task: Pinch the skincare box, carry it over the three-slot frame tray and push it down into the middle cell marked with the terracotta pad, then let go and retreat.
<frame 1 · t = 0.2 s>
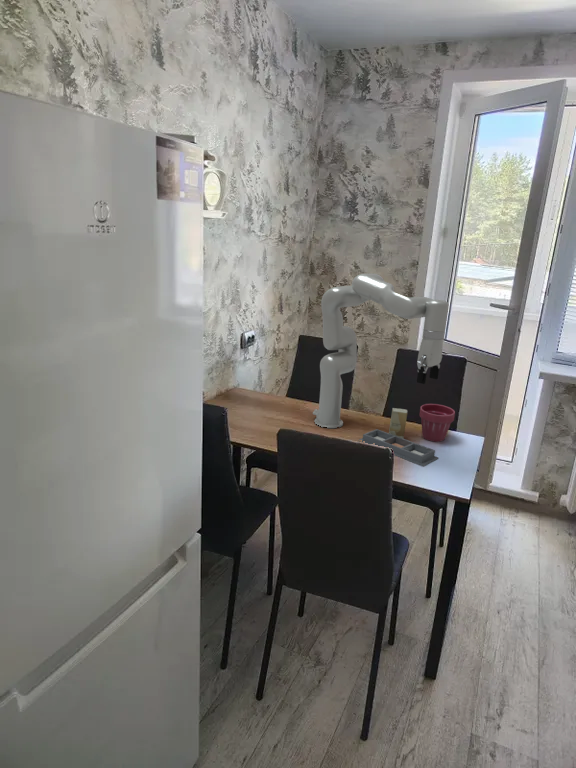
hand: (427, 380, 190), 31 cm above the table, tool pointing down, fingers open, 9 cm apart
skincare box: (396, 437, 217), on the table
plant pot: (433, 438, 220), on the table
three-slot frame tray: (397, 449, 205), on the table
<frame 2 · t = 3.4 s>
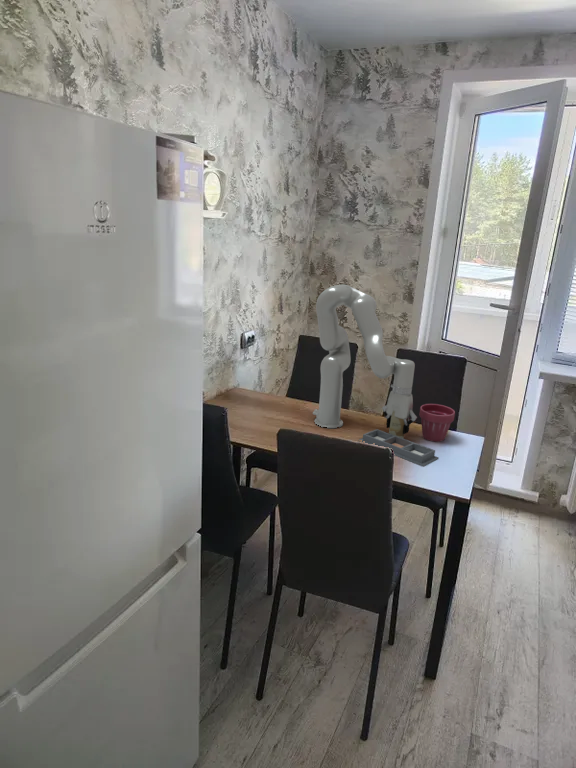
hand: (397, 430, 216), 3 cm above the table, tool pointing down, fingers closed on skincare box, 7 cm apart
skincare box: (396, 437, 217), on the table, touching gripper
everything else where it was.
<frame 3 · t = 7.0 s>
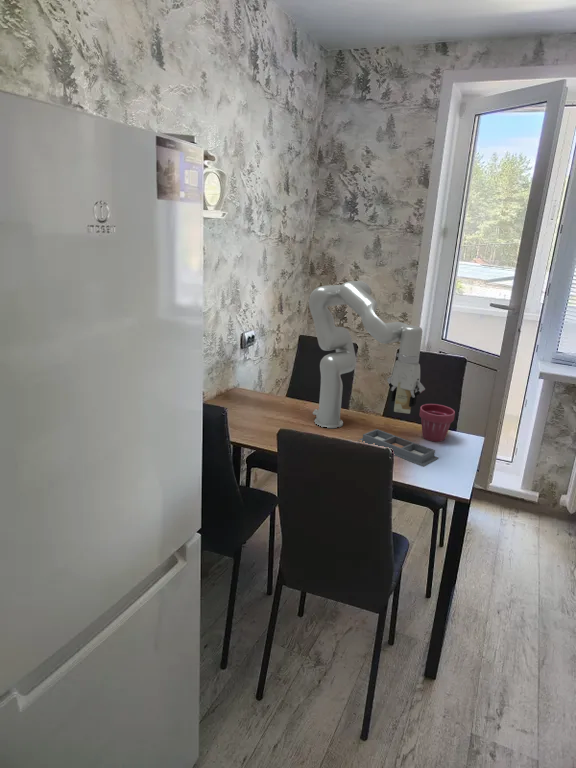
hand: (403, 403, 199), 19 cm above the table, tool pointing down, fingers closed on skincare box, 7 cm apart
skincare box: (402, 411, 200), point 16 cm above the table, touching gripper
everything else where it was.
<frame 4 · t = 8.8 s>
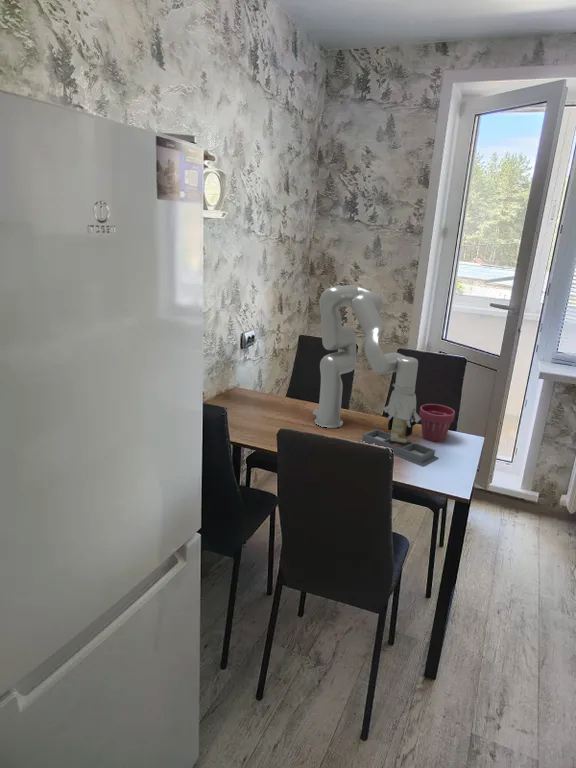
hand: (399, 432, 203), 7 cm above the table, tool pointing down, fingers closed on skincare box, 7 cm apart
skincare box: (398, 440, 204), point 4 cm above the table, touching gripper
everything else where it was.
when the fingers open (5 cm above the table, at t = 10.4 s): skincare box drops 1 cm, resting on three-slot frame tray.
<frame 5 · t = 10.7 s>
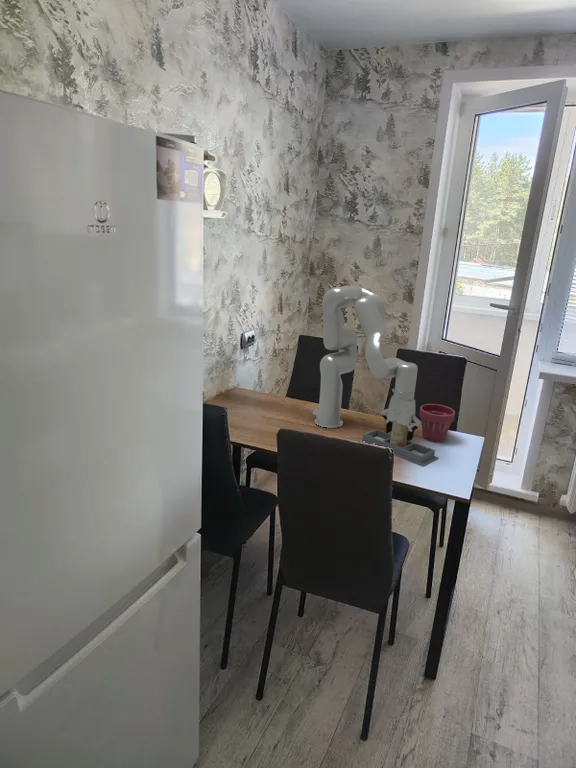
hand: (398, 436, 203), 6 cm above the table, tool pointing down, fingers open, 9 cm apart
skincare box: (397, 448, 205), point 1 cm above the table, touching three-slot frame tray
everything else where it was.
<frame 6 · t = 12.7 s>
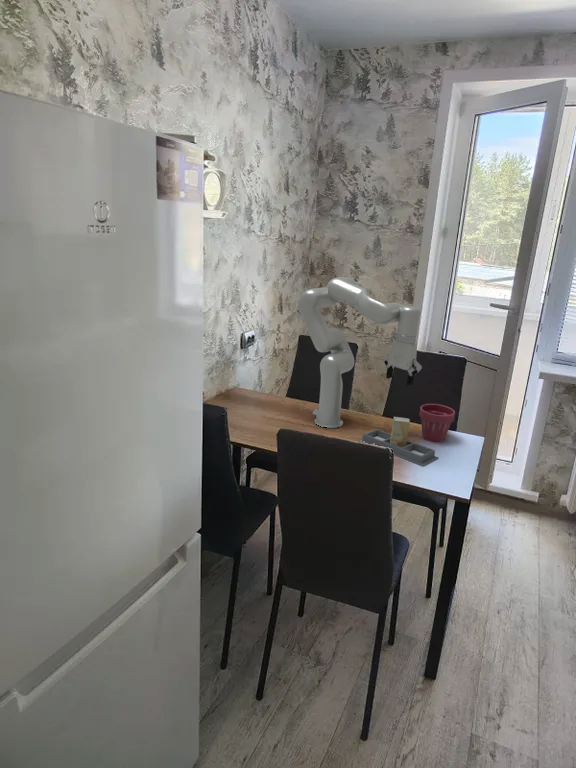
hand: (399, 381, 204), 26 cm above the table, tool pointing down, fingers open, 9 cm apart
nothing on the table moved.
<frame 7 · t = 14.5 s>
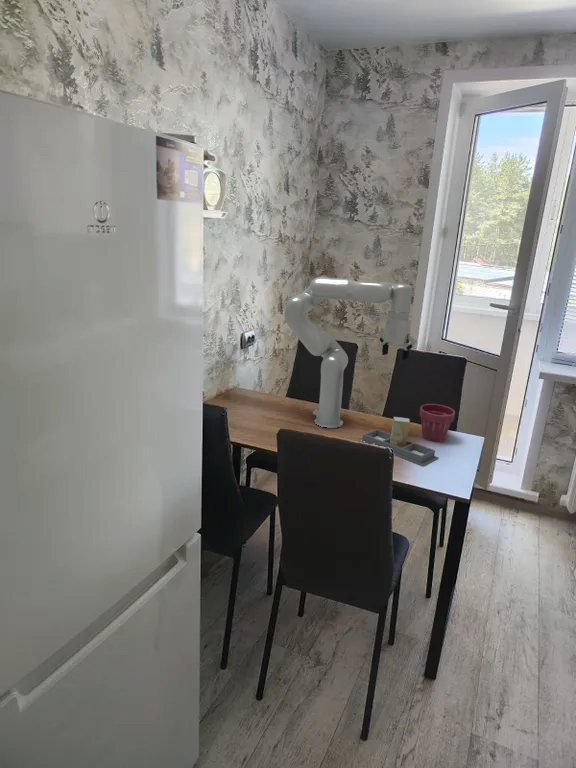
hand: (394, 357, 212), 33 cm above the table, tool pointing down, fingers open, 9 cm apart
nothing on the table moved.
at the end: skincare box 0.2 cm off-centre on the three-slot frame tray, point 0.5 cm above the three-slot frame tray's base; skincare box tilted 0°; the gripper is holding nothing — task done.
